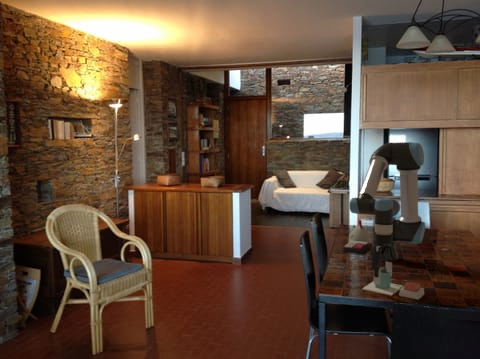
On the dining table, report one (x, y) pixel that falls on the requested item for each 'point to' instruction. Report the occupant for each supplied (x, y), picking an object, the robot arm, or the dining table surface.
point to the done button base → (412, 293)
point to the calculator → (356, 247)
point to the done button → (412, 286)
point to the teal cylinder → (384, 279)
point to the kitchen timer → (360, 234)
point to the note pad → (389, 291)
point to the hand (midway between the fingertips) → (382, 280)
